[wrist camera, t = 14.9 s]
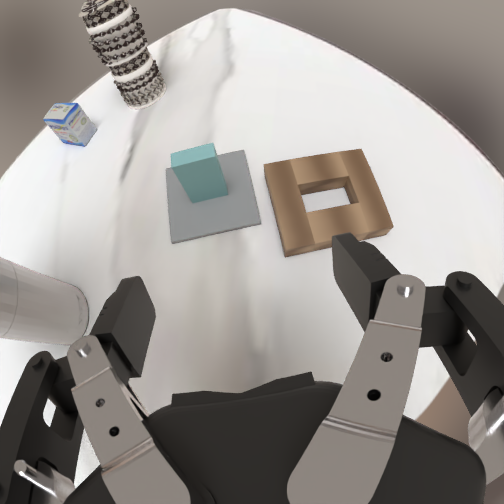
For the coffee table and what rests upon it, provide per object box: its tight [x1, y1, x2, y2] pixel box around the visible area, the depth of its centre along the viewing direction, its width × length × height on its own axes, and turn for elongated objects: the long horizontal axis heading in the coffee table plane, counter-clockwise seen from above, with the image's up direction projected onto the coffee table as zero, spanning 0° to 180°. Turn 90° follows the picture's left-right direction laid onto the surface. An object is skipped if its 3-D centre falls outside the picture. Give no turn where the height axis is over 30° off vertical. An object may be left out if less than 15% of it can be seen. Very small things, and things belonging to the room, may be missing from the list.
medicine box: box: [44, 103, 97, 146], centre depth 43 cm, size 8×4×9 cm, turn 70°
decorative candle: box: [79, 0, 166, 110], centre depth 36 cm, size 9×9×25 cm
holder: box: [264, 149, 394, 257], centre depth 36 cm, size 14×12×3 cm
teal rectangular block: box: [171, 143, 228, 203], centre depth 34 cm, size 5×2×9 cm, turn 102°
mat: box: [166, 150, 261, 244], centre depth 39 cm, size 12×12×1 cm
